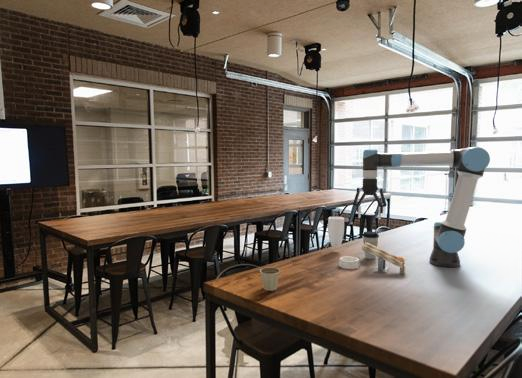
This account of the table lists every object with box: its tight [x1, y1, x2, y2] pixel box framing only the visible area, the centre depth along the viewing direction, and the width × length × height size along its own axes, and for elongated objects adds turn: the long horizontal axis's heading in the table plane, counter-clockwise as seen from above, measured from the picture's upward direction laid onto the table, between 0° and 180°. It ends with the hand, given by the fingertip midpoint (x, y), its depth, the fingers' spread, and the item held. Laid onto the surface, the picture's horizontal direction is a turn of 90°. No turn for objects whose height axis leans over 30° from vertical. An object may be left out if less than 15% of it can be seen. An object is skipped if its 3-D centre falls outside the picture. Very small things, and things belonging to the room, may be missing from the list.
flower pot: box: [259, 266, 281, 292], centre depth 166 cm, size 9×9×9 cm
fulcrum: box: [373, 257, 406, 276], centre depth 188 cm, size 14×11×7 cm
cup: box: [327, 216, 345, 249], centre depth 227 cm, size 10×10×22 cm
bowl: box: [338, 255, 360, 270], centre depth 198 cm, size 10×10×4 cm
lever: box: [360, 242, 407, 268], centre depth 192 cm, size 22×13×3 cm, turn 62°
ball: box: [397, 256, 405, 262], centre depth 186 cm, size 4×4×4 cm
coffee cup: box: [361, 231, 380, 260], centre depth 213 cm, size 9×9×15 cm
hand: (369, 218), depth 199 cm, fingers open, 10 cm apart
